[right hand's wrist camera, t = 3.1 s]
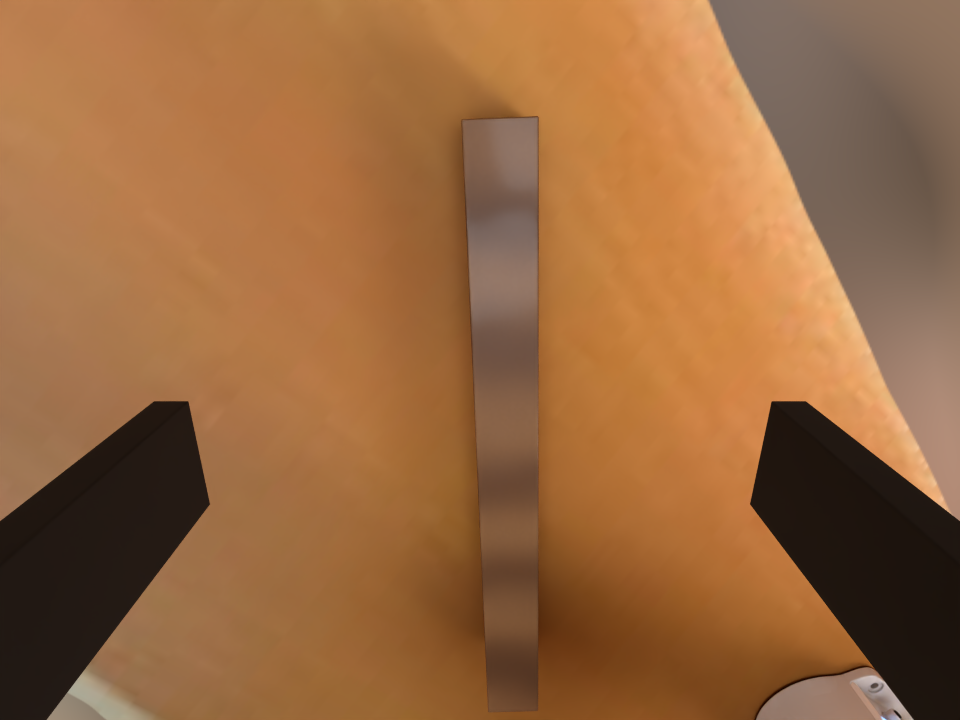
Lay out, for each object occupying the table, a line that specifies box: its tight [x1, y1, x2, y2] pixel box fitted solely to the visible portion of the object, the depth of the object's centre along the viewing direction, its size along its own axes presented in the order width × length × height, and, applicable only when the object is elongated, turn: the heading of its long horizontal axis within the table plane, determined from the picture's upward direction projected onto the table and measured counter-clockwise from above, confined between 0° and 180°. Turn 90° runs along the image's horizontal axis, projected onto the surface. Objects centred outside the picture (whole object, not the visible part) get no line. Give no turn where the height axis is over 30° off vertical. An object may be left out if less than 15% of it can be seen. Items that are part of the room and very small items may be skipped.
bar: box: [461, 116, 539, 712], centre depth 47 cm, size 53×5×8 cm, turn 2°
